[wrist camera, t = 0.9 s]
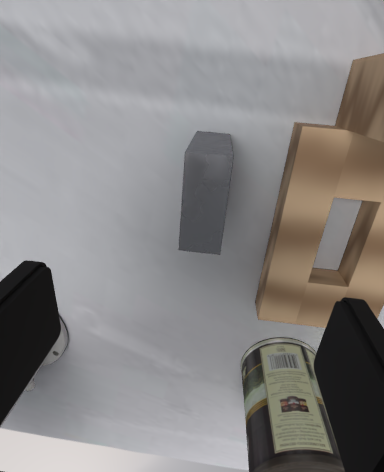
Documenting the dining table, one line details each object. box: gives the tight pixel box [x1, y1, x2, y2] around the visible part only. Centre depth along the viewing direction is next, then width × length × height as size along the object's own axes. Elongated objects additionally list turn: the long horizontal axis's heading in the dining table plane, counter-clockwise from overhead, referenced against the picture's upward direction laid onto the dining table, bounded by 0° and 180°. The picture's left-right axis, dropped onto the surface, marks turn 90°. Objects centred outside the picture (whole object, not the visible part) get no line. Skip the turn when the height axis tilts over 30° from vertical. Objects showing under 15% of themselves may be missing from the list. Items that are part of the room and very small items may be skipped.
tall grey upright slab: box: [179, 131, 234, 255], centre depth 24 cm, size 7×3×10 cm, turn 176°
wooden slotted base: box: [255, 53, 384, 328], centre depth 23 cm, size 25×12×14 cm, turn 176°
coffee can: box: [241, 338, 345, 472], centre depth 33 cm, size 10×10×14 cm
